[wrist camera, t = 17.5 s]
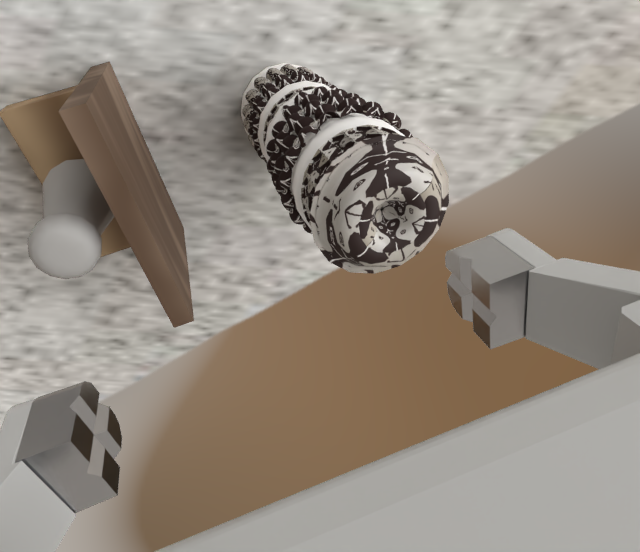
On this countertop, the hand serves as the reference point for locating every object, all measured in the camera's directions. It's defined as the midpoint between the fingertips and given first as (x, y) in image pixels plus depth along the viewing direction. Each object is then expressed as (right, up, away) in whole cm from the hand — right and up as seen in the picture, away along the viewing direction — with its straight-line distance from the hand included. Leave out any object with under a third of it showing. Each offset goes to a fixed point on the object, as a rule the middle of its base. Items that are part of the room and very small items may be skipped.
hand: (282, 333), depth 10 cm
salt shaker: (-19, +9, +30) cm, 37 cm away
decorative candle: (-3, +17, +34) cm, 38 cm away
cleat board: (-19, +11, +32) cm, 39 cm away
